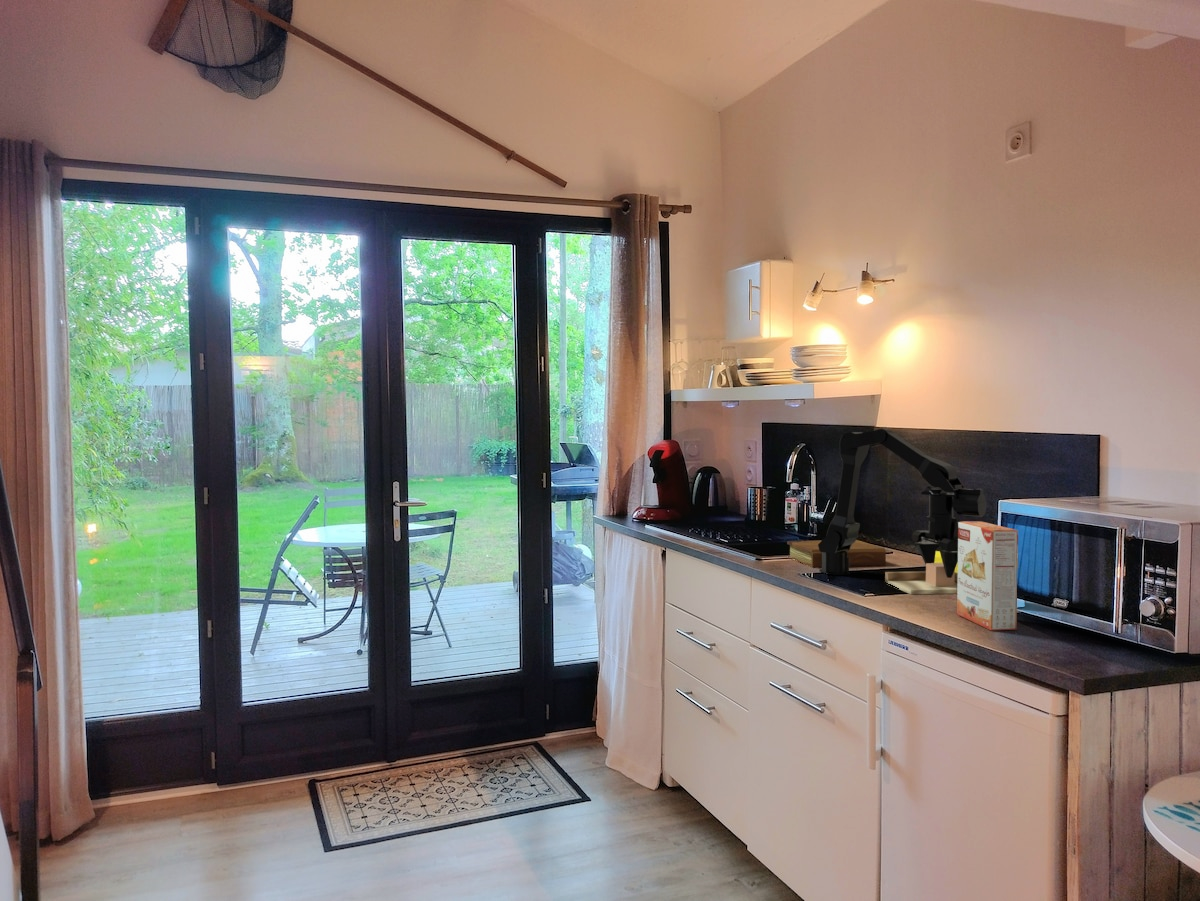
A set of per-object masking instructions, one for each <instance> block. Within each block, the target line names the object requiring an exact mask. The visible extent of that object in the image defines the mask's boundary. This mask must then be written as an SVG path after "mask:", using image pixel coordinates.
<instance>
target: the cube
mask: <svg viewBox="0 0 1200 901" xmlns="http://www.w3.org/2000/svg"><path fill="white" fill-rule="evenodd" d="M925 571H926V583H928V584H931V585H934V586H954V580H955V570H954V573H953V575H952V577H951V578H947V576H946V573H945V569H944V565H943V563H926V564H925Z"/></svg>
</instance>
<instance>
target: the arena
mask: <svg viewBox="0 0 1200 901" xmlns="http://www.w3.org/2000/svg"><path fill="white" fill-rule="evenodd" d="M884 574H885V575H884V583H885V582H886V583H888V584H891V585H893V586H895V587H897V588H899V589H898V590H900V591H902V592H904V593H907V594H909V595H935V594H936V595H937V594H940V595H942V594H947V595H949V594H950V595H951V594H957V584H958V573H955V580H954V586H934V585H931V584H928V583H926V570H924V571H923V570H922V571H919V570H918V571H885V572H884ZM888 584H887V585H888ZM895 587H894V588H895ZM897 588H896V589H897Z"/></svg>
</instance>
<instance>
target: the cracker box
mask: <svg viewBox="0 0 1200 901" xmlns="http://www.w3.org/2000/svg"><path fill="white" fill-rule="evenodd" d="M1018 554H1019V530H1018V529H1015V528H1010V527H1006V526H1001V525H997V524H993V523H989V522H985V521H982V520H981V521H980V520H979V521H978V520H977V521H973V520H971V521H970V520H966V521H965V520H964V521H963V520H962V521H958V584H957V593H956V594H957V596H956V597H957V599H956V600H957V601H956V603H957V604H956V610H957V611H956V615H957V616H959V617H962V618H964V619H966V620H968V621H970V622H972V623H974V624H976V625H978V626H981V627H982V628H985V629H987V630H989V631H994V632H995V631H998V632H999V631H1016V630H1017V626H1018V625H1017V623H1018V622H1017V620H1018V618H1017V615H1018V614H1017V613H1018V612H1017V611H1018V608H1017V569H1018Z"/></svg>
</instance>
